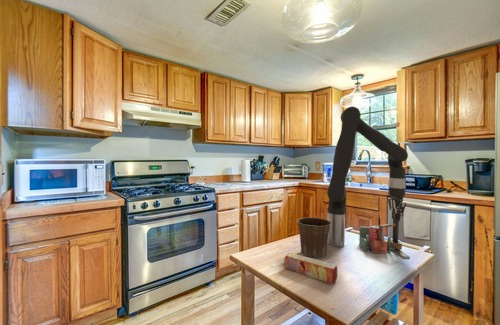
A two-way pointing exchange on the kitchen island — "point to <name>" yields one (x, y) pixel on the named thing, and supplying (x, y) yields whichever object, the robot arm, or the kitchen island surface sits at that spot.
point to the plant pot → (314, 236)
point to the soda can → (374, 235)
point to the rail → (400, 253)
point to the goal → (365, 239)
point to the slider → (380, 244)
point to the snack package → (311, 267)
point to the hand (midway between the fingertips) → (395, 219)
